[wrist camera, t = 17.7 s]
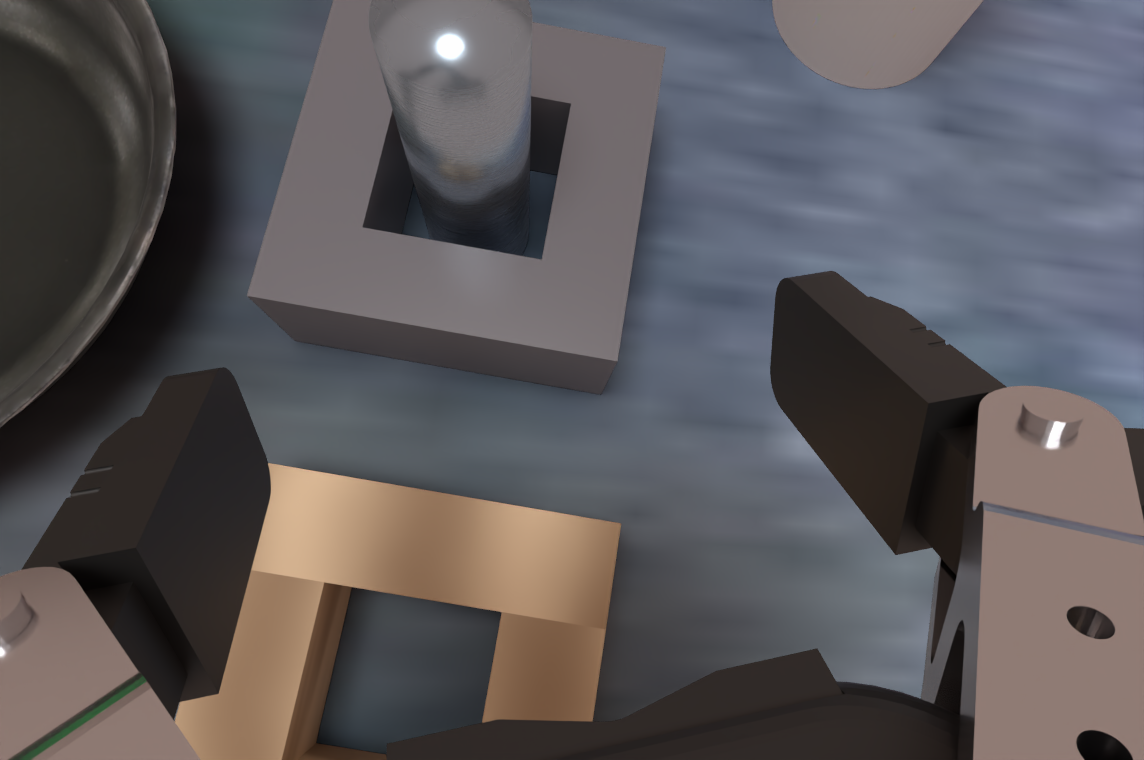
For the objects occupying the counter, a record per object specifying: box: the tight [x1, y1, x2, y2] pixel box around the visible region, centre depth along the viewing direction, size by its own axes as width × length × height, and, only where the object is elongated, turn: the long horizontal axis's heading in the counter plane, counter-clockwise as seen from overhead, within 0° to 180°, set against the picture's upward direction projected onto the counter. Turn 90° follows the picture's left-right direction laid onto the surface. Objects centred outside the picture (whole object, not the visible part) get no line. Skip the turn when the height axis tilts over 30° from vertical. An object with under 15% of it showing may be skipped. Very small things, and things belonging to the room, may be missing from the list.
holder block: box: [247, 0, 666, 395], centre depth 27 cm, size 12×12×5 cm
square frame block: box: [175, 463, 621, 760], centre depth 23 cm, size 12×12×4 cm
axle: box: [368, 0, 532, 256], centre depth 24 cm, size 4×4×12 cm
